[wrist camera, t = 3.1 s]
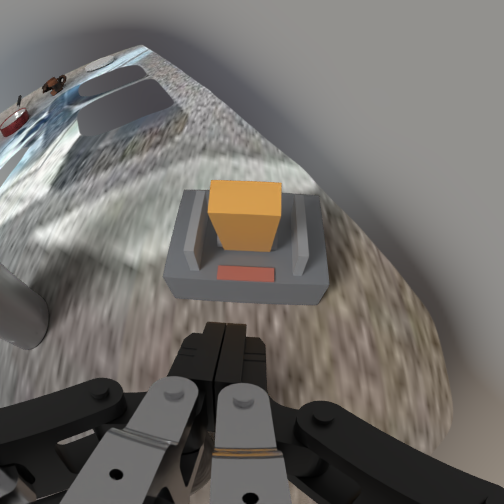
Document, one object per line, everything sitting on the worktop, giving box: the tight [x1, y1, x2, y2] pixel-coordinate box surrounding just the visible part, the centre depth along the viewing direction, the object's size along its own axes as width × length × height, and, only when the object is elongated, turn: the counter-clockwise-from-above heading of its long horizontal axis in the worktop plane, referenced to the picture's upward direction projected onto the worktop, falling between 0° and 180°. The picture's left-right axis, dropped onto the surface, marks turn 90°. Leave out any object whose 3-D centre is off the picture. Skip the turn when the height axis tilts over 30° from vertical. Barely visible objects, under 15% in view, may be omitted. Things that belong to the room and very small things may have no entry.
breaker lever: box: [208, 180, 281, 252], centre depth 25 cm, size 6×2×13 cm, turn 87°
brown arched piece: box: [42, 75, 66, 96], centre depth 77 cm, size 12×10×8 cm
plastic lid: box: [85, 56, 114, 71], centre depth 88 cm, size 14×14×2 cm
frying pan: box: [0, 95, 29, 137], centre depth 67 cm, size 32×13×6 cm, turn 38°
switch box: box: [163, 190, 329, 305], centre depth 33 cm, size 18×13×10 cm
